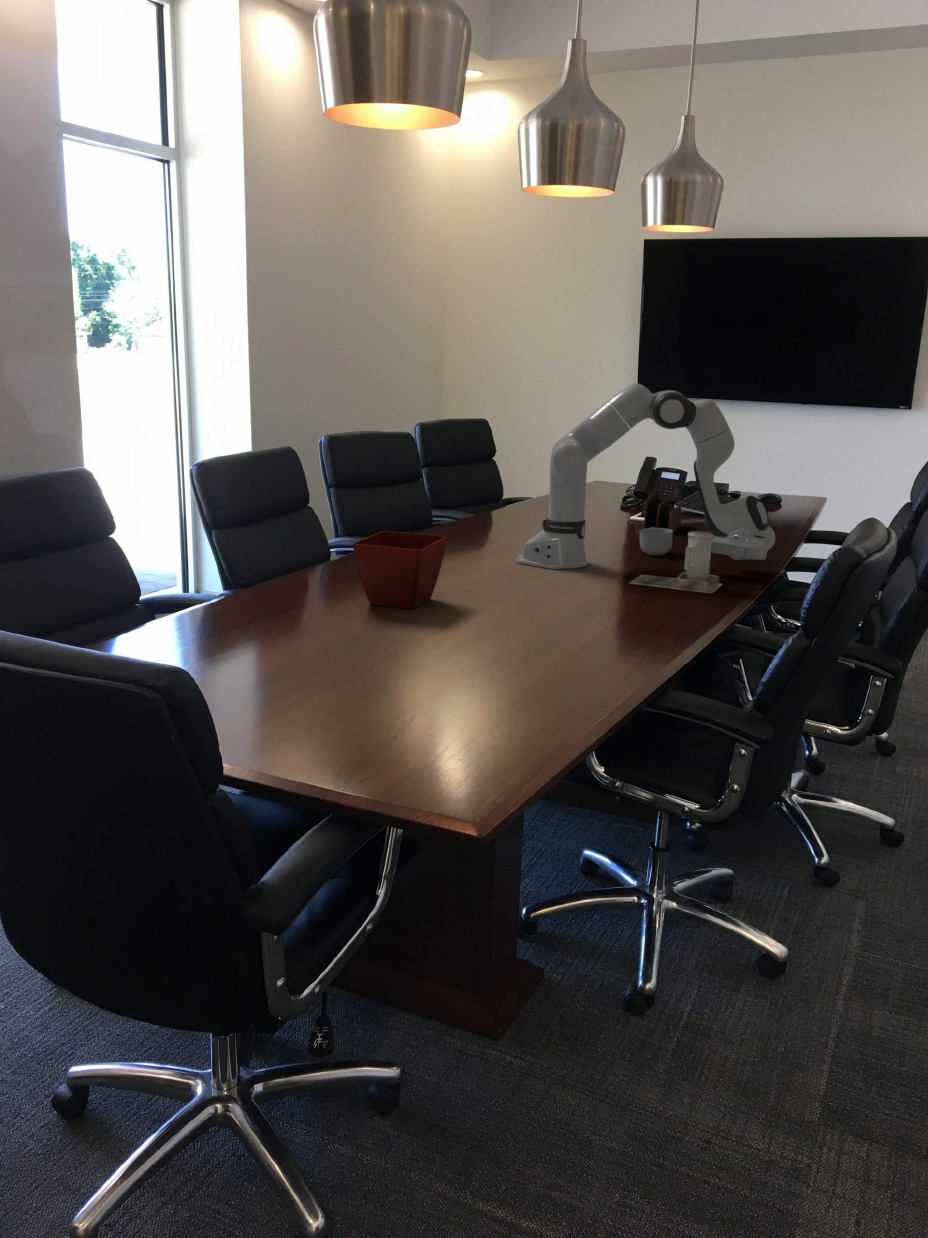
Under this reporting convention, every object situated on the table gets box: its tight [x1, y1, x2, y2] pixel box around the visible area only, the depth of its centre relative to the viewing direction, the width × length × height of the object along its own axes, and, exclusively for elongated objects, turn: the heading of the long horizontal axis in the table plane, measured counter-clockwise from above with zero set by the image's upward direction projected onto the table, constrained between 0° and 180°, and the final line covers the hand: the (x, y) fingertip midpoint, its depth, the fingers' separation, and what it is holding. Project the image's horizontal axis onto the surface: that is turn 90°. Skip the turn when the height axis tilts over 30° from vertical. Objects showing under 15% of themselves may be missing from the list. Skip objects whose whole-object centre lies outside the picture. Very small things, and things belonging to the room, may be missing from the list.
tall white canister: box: [683, 531, 713, 582], centre depth 280 cm, size 10×7×15 cm
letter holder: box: [642, 490, 682, 533], centre depth 376 cm, size 10×20×14 cm, turn 156°
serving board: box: [628, 571, 723, 594], centre depth 286 cm, size 24×13×4 cm, turn 64°
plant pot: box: [352, 530, 447, 610], centre depth 263 cm, size 19×19×17 cm
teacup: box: [639, 528, 674, 556], centre depth 333 cm, size 14×11×8 cm
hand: (717, 550), depth 288 cm, fingers open, 8 cm apart
